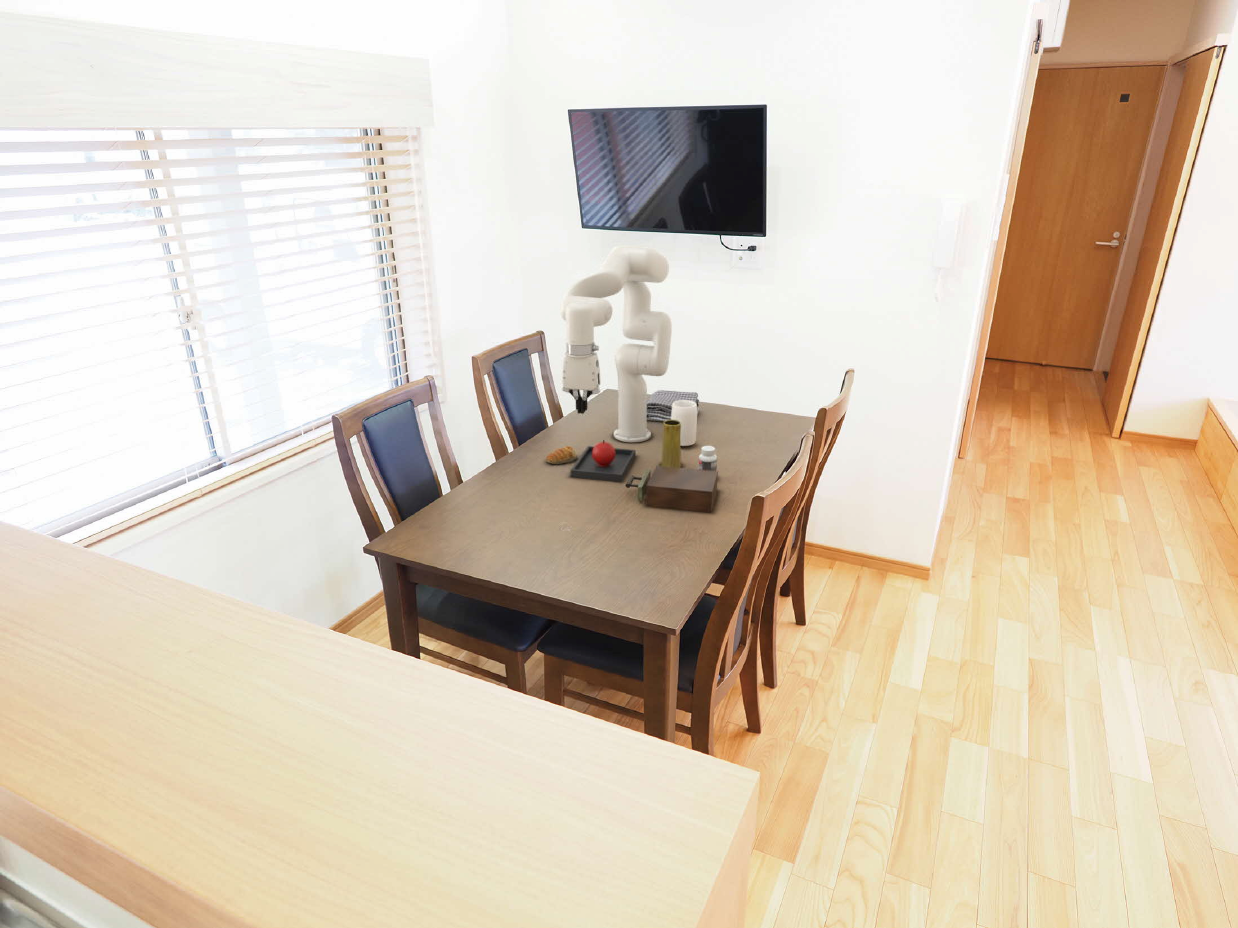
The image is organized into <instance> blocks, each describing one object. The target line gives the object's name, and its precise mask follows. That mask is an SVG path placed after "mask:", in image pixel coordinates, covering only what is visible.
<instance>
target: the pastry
mask: <svg viewBox="0 0 1238 928" xmlns="http://www.w3.org/2000/svg"><path fill="white" fill-rule="evenodd" d="M577 457H578V455H577V453H576V451H575V449H574V448H573V446H570V445H566V446H565V447H559V448H555V450H554V451H553V452H550V453H549V454H548V455H547V456H546V462H547V463H549V464H552V465H562V464H567V463H570V462H571V463H572V462H574V461H576V459H577Z"/></svg>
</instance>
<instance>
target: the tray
mask: <svg viewBox="0 0 1238 928" xmlns="http://www.w3.org/2000/svg"><path fill="white" fill-rule="evenodd" d="M594 446H595V445H594ZM594 446H592V445H587V447H586V448H585V449H584V451H583V452H582V454H580V456H579V458H578V459H577V461H576V462H575V464H574V465H573V466H572V468H571V469H570V478H578V479H586V480H587V479H588V480H597V481H598V480H599V481H607V482H608V481H610V482H619V483H622V482H623V480H624V478H625V477H626V475H627V473H628V471H629V469H630V468H631V466H632V464H633V462H634V460H635V459H636V456H637V455H636V454H637V453H636V452H637V450H636V449H630V448H629V449H627V448H615V447H614V449H615V452H616V455H615V459H614V460H613V462H612V463H610V465H609V466H606V467H602V466H599V465H598V463H596V462H595V461H594V459H593V457H592V450H593V448H594Z"/></svg>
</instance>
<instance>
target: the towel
mask: <svg viewBox="0 0 1238 928" xmlns="http://www.w3.org/2000/svg"><path fill="white" fill-rule="evenodd" d="M698 397H699V394H698V392H693V391H692V392H691V391H690V392H689V391H676V390H664V389H663V390H662V389H659V390H657V391H654V392H653V393H652V394H650V396H649V398H648V399H647V421H653V422H664V421H666V420H671V413H672V404H673V402H675V401H679V400H689V401H693V402H695V403H696V404H697V415H698V414H699V412H700V408H699V407H700V406H699V405H700V404H699V402H700V400H699V398H698Z"/></svg>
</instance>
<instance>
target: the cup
mask: <svg viewBox="0 0 1238 928" xmlns="http://www.w3.org/2000/svg"><path fill="white" fill-rule="evenodd" d="M671 420H678V421H680V422H681V435H680V445H681V446H682V447H685V446H691V445H695V443H696V440H697V428H698V414H697V404H696V403H695V402H693V401H689V400H679V401H675V402H673V404H672V413H671Z"/></svg>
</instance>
